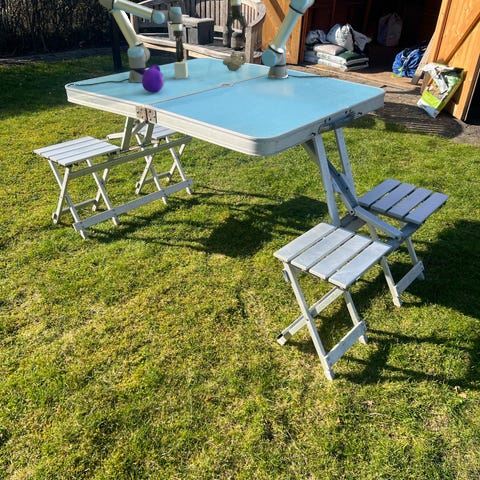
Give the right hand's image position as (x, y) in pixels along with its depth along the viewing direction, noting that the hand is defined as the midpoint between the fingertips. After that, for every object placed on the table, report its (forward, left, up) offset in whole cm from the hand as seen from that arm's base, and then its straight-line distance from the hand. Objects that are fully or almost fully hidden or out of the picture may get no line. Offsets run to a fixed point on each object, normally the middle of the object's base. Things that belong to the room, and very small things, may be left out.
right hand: (237, 37), depth 327 cm
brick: (+41, -20, -29) cm, 53 cm away
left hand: (+40, -19, -16) cm, 47 cm away
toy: (+67, +24, -29) cm, 76 cm away
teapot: (-5, -33, -29) cm, 44 cm away
